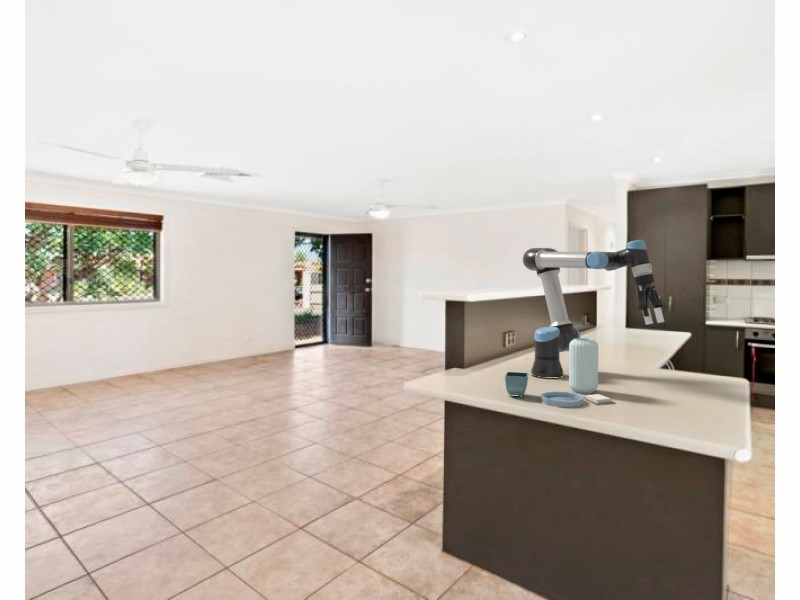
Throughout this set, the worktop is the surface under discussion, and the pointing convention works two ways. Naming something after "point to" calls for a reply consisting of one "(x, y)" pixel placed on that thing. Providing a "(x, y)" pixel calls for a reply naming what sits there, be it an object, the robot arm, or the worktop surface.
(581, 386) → the vase
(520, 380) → the flower pot
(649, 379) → the worktop surface
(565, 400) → the dish
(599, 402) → the mat with cloth
